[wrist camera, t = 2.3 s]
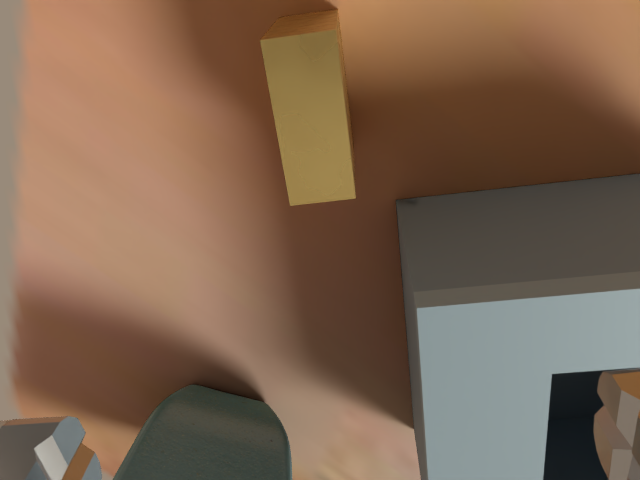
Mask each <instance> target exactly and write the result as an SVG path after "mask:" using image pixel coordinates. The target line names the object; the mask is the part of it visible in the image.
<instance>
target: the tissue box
mask: <svg viewBox="0 0 640 480" xmlns="http://www.w3.org/2000/svg"><path fill="white" fill-rule="evenodd" d="M396 209H397V222H398V234H399V247H400V259H401V272H402V284H403V297H404V309H405V322H406V334H407V347H408V359H409V372H410V384H411V397H412V409H413V422H414V433H415V440H416V447H417V454H418V461H419V468H420V475H421V480H609V479H608V477H607V475H606V473H605V471H604V469H603V467H602V465H601V462H600V459H599V456H598V453H597V450H596V444H595V438H594V432H593V431H594V416H595V414H596V413H597V412H598V411H599V410H600V409H601V408H602V407H603V406H604V403H603V402H602V400H601V398H600V396H599V395H598V393H597V389H598V381H599V378H600V376H601V374H602V372H603V371H614V370H625V369H636V368H640V174H631V175H621V176H612V177H603V178H594V179H585V180H575V181H566V182H557V183H548V184H539V185H529V186H520V187H511V188H502V189H492V190H483V191H474V192H465V193H456V194H446V195H437V196H428V197H419V198H410V199H400V200H396Z"/></svg>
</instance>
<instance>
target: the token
mask: <svg viewBox="0 0 640 480" xmlns="http://www.w3.org/2000/svg"><path fill="white" fill-rule="evenodd" d="M260 44H261V49H262V55H263V60H264V66H265V71H266V77H267V82H268V88H269V93H270V99H271V104H272V110H273V115H274V120H275V126H276V131H277V137H278V142H279V148H280V153H281V159H282V164H283V170H284V175H285V181H286V186H287V192H288V197H289V203H290V206H293V205H302V204H311V203H320V202H329V201H338V200H347V199H356V189H355V166H354V145H353V136H352V127H351V118H350V110H349V101H348V92H347V83H346V74H345V66H344V57H343V48H342V39H341V31H340V22H339V13H338V9H334V10H327V11H320V12H313V13H306V14H299V15H293V16H286V17H279V18H278V19H277V21H276V22H275V23H274V24H273V25H272V27H271V28H270V29H269V30H268V31H267V32H266V34H265V35H264V36H263V37H262V38H261V40H260Z"/></svg>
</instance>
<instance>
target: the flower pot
mask: <svg viewBox="0 0 640 480" xmlns="http://www.w3.org/2000/svg"><path fill="white" fill-rule="evenodd" d="M113 480H292V462H291V451H290V445H289V441H288V437H287V434H286V432H285V429H284V427H283V425H282V423H281V421H280V420H279V418H278V417H277V415H276V414H275V413H274V411H273V410H272V409H271V408H270V407H269V406H268V405H267V404H266V403H264V402H261V401H257V400H253V399H249V398H245V397H241V396H237V395H233V394H229V393H225V392H221V391H217V390H214V389H210V388H207V387H203V386H199V385H189V386H187V387H184V388H182V389H180V390H178V391H176V392H175V393H173V394H171V395H170V396H169V397H167V398H166V399H165V400H164V401H163V402H161V403H160V404H159V405H158V406H157V407H156V409H155V410H154V411H153V412H152V414H151V415H150V416H149V418H148V419H147V421H146V422H145V424H144V425H143V427H142V429H141V431H140V432H139V434H138V436H137V437H136V439H135V441H134V443H133V445H132V446H131V448H130V450H129V452H128V453H127V455H126V457H125V459H124V460H123V462H122V464H121V466H120V468H119V469H118V471H117V473H116V475H115V476H114V478H113Z"/></svg>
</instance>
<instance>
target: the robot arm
mask: <svg viewBox="0 0 640 480" xmlns="http://www.w3.org/2000/svg"><path fill="white" fill-rule="evenodd" d="M597 393H598V395H599V396H600V398H601V400H602V402H603V403H604V406H603V407H602V408H601V409H600V410H599V411H598V412H597V413H596V414H595V416H594V431H593V432H594V438H595V444H596V450H597V453H598V456H599V459H600V462H601V465H602V467H603V469H604V471H605V473H606V475H607V477H608V479H609V480H640V368H636V369H625V370H614V371H603V372H602V374H601V376H600V378H599V381H598V389H597ZM84 435H85V431H84V429H83V427H82V425H81V423H80V422H79V420H78V418H75V417H70V416H64V417H46V418H29V419H13V420H9V421H8V420H7V421H0V480H102V474H101V467H100V462H99V460H98V458H97V456H96V454H95V452H94V451H92V450H91V449H89V448H88V447H86V446H85V445H83V444H82V440H83V438H84Z"/></svg>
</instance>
